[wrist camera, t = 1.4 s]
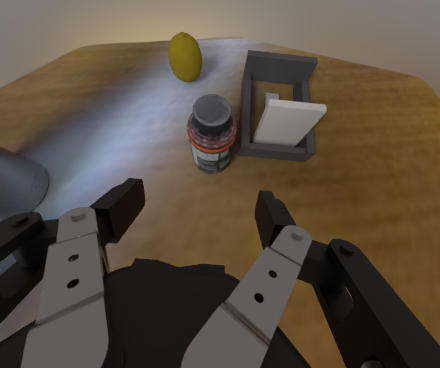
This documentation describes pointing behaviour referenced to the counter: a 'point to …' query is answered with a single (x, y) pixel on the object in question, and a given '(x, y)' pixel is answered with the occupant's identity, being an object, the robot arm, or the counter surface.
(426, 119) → the counter surface
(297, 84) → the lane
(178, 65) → the lemon
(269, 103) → the plate
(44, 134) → the counter surface
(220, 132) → the supplement bottle
